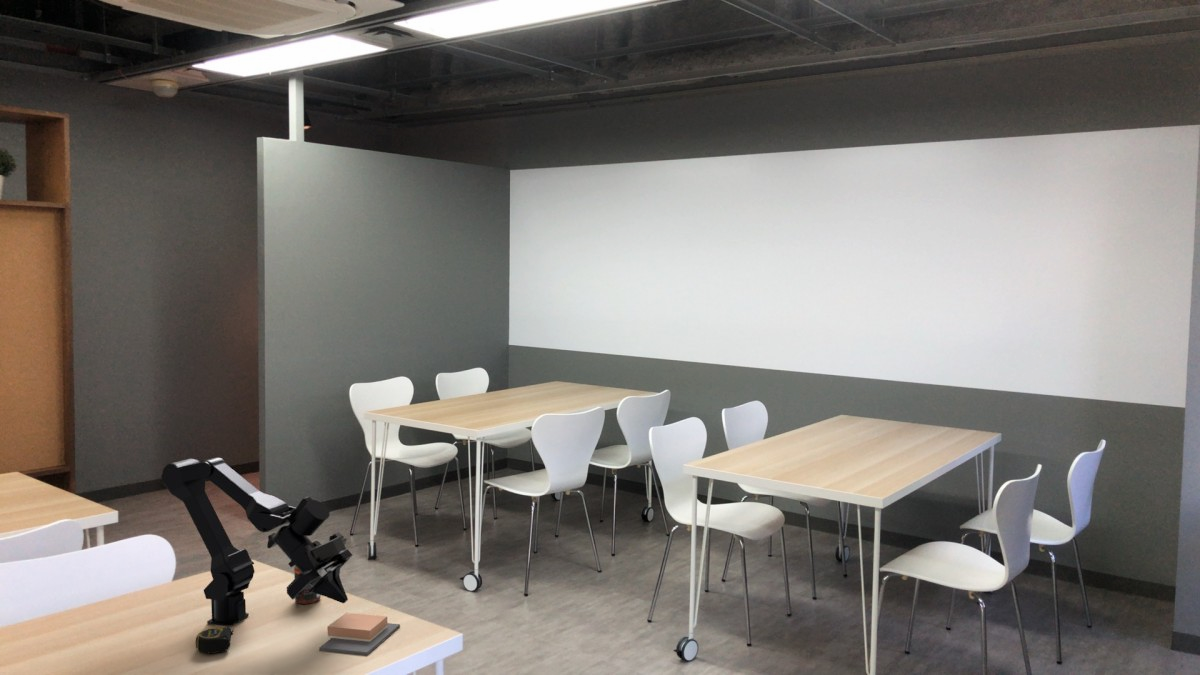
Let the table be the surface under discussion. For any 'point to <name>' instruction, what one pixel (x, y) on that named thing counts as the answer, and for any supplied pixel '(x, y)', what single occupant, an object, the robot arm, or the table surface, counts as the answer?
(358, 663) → the table surface
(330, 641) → the mat
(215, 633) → the tape measure
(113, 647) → the table surface
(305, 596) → the supplement bottle
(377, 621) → the tile
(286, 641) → the table surface
